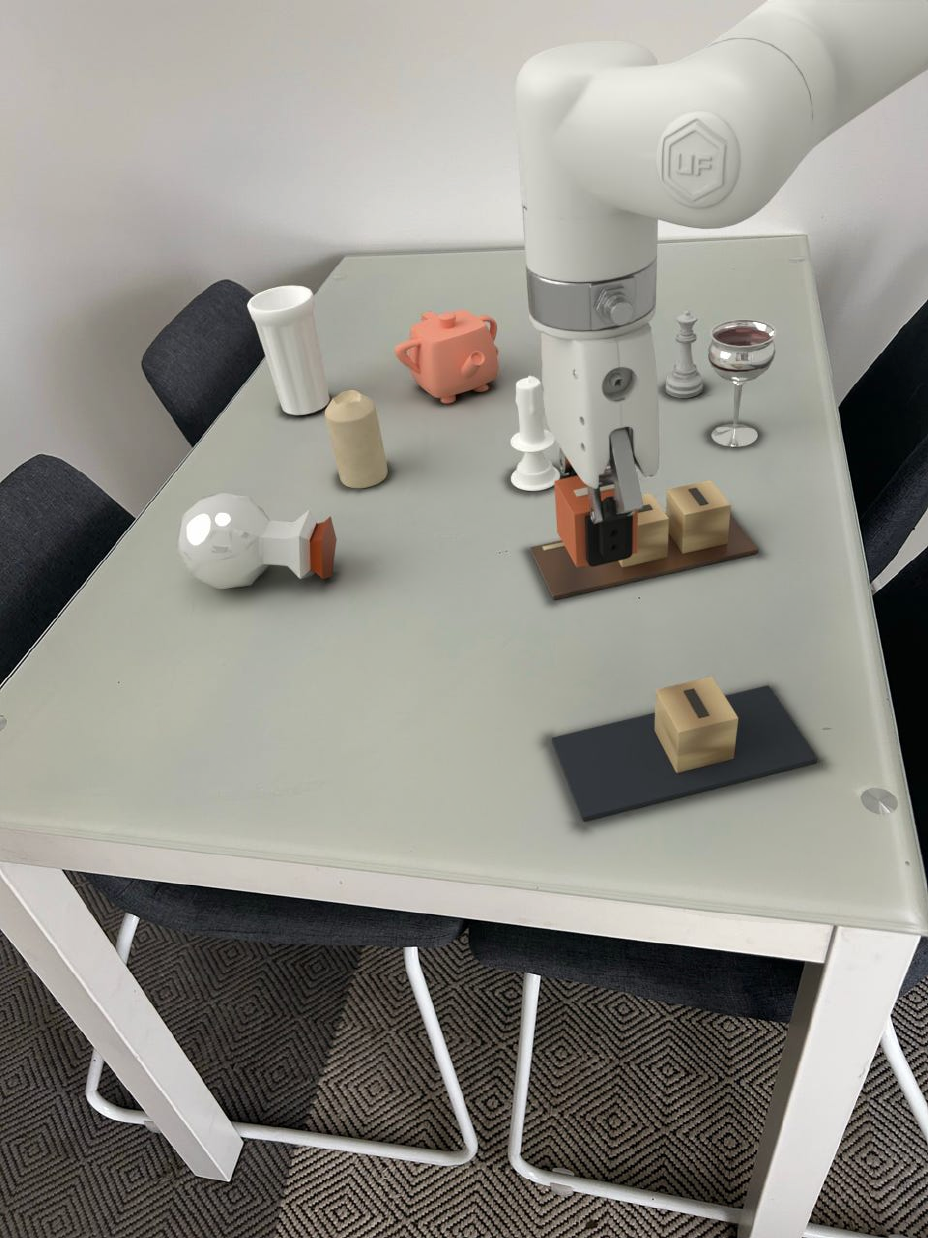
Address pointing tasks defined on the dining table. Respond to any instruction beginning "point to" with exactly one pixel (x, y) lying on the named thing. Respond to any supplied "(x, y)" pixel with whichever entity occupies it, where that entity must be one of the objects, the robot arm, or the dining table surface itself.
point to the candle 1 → (356, 439)
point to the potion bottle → (250, 542)
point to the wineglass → (740, 367)
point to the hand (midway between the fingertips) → (596, 537)
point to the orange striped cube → (579, 515)
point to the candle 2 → (532, 439)
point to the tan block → (695, 724)
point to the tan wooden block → (697, 516)
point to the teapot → (451, 353)
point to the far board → (578, 580)
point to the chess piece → (685, 362)
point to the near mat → (642, 773)
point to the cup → (291, 347)
